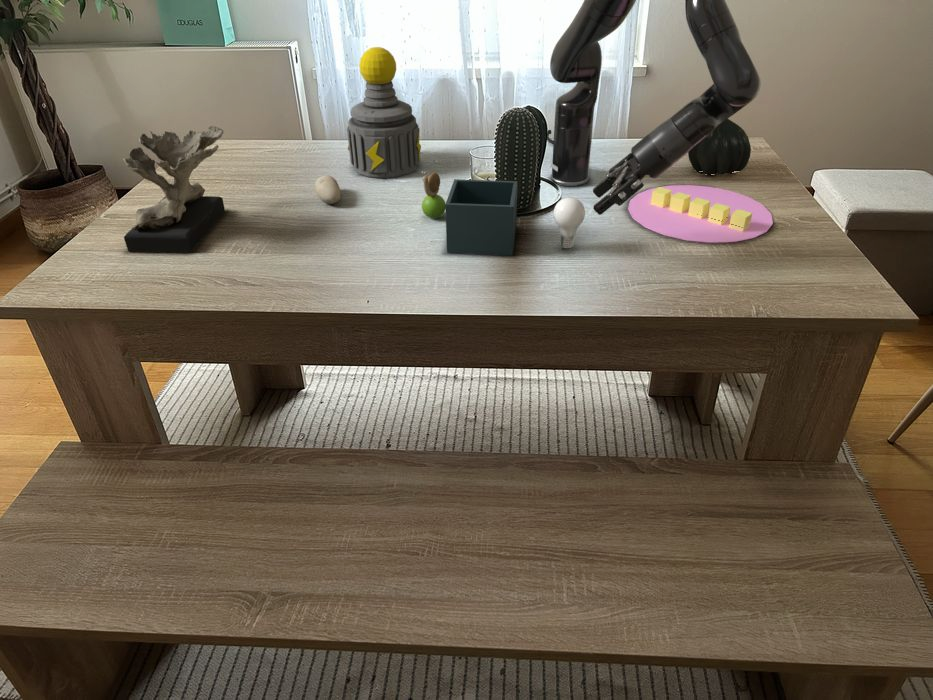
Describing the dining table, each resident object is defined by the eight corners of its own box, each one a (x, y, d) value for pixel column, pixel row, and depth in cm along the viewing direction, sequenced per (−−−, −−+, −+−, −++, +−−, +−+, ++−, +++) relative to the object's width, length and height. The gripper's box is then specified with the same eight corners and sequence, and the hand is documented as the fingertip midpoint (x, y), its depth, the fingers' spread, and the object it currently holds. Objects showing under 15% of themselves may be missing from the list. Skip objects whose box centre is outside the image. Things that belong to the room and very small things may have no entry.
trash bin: (455, 225, 157) (454, 179, 150) (516, 227, 155) (517, 181, 149) (446, 253, 146) (445, 204, 139) (512, 256, 144) (513, 206, 138)
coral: (175, 204, 168) (151, 114, 156) (257, 206, 167) (240, 115, 154) (124, 251, 148) (92, 152, 136) (217, 255, 146) (193, 154, 134)
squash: (760, 164, 170) (755, 106, 172) (697, 167, 170) (693, 109, 172) (740, 185, 184) (735, 130, 186) (682, 188, 185) (678, 133, 186)
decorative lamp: (361, 153, 196) (349, 38, 179) (427, 156, 194) (421, 39, 177) (342, 178, 181) (327, 55, 164) (413, 181, 179) (406, 56, 162)
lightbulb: (562, 257, 143) (566, 207, 137) (545, 245, 148) (548, 196, 142) (588, 250, 146) (592, 200, 139) (570, 238, 150) (574, 190, 144)
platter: (732, 257, 142) (736, 242, 140) (600, 214, 160) (602, 200, 158) (796, 209, 161) (800, 195, 159) (671, 175, 179) (673, 163, 177)
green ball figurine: (415, 221, 159) (412, 170, 152) (429, 210, 163) (427, 160, 157) (436, 225, 157) (434, 174, 150) (450, 215, 161) (448, 164, 154)
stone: (321, 200, 162) (303, 171, 169) (330, 219, 168) (312, 189, 174) (343, 189, 163) (324, 160, 169) (352, 207, 168) (333, 178, 175)
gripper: (647, 122, 137) (583, 176, 145) (653, 146, 125) (583, 203, 133) (670, 149, 139) (606, 201, 147) (679, 175, 128) (608, 230, 136)
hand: (595, 202), depth 140 cm, fingers open, 8 cm apart
